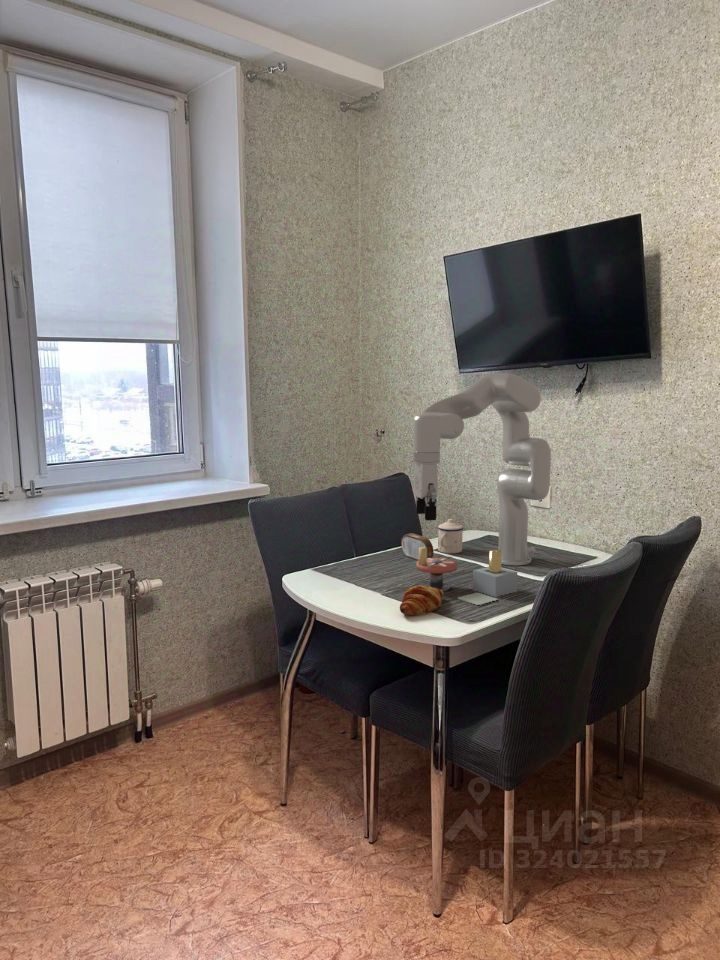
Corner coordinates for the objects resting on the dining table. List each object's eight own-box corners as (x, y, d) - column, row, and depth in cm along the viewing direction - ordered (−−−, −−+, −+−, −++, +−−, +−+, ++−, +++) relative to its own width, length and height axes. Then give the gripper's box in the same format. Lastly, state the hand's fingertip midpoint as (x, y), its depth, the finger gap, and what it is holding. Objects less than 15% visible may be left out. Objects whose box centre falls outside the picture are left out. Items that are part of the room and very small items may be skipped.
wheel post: (437, 583, 216) (437, 563, 215) (455, 589, 209) (456, 569, 209) (417, 587, 211) (417, 568, 210) (435, 594, 205) (435, 574, 204)
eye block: (493, 584, 214) (494, 565, 213) (516, 591, 207) (517, 571, 206) (472, 590, 209) (473, 570, 208) (495, 597, 201) (495, 577, 201)
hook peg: (494, 588, 210) (495, 549, 208) (503, 591, 207) (504, 551, 206) (485, 590, 208) (486, 550, 206) (494, 593, 205) (495, 553, 203)
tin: (434, 563, 240) (434, 538, 238) (427, 564, 238) (427, 540, 237) (406, 554, 252) (406, 530, 251) (399, 555, 250) (399, 532, 249)
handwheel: (416, 572, 204) (416, 550, 203) (416, 562, 216) (416, 541, 215) (458, 573, 203) (458, 551, 202) (456, 563, 215) (456, 542, 214)
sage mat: (477, 593, 205) (477, 592, 205) (498, 600, 199) (498, 599, 198) (457, 598, 200) (457, 597, 200) (478, 606, 194) (478, 604, 194)
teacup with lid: (444, 546, 262) (444, 515, 261) (466, 549, 257) (467, 518, 256) (429, 553, 252) (429, 521, 251) (452, 556, 247) (453, 524, 246)
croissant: (431, 608, 203) (420, 582, 204) (460, 597, 198) (449, 571, 199) (393, 628, 186) (381, 600, 187) (423, 617, 180) (411, 588, 181)
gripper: (406, 454, 210) (406, 511, 212) (421, 461, 193) (420, 523, 195) (431, 454, 211) (430, 510, 213) (448, 461, 194) (447, 522, 196)
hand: (426, 516), depth 204 cm, fingers open, 9 cm apart
